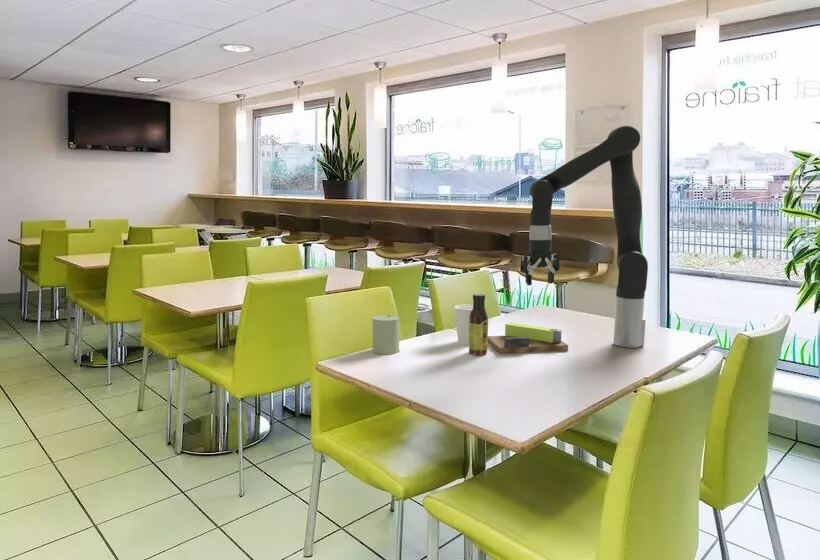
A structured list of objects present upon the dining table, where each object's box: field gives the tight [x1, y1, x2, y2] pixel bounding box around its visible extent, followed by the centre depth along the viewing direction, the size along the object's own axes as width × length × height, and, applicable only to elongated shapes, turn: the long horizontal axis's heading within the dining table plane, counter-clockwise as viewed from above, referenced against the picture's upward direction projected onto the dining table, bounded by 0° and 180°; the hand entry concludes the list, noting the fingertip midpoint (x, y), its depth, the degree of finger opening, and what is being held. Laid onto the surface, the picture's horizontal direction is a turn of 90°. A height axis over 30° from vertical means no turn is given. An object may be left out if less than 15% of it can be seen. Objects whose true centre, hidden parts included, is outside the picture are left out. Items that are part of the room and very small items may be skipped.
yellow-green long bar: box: [504, 321, 562, 343], centre depth 201 cm, size 20×4×4 cm, turn 54°
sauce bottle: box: [468, 293, 489, 356], centre depth 189 cm, size 7×6×20 cm
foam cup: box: [453, 304, 473, 346], centre depth 203 cm, size 10×9×13 cm
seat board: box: [488, 335, 569, 355], centre depth 199 cm, size 24×16×5 cm, turn 99°
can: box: [371, 314, 400, 355], centre depth 193 cm, size 9×9×12 cm
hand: (539, 284), depth 201 cm, fingers open, 8 cm apart
